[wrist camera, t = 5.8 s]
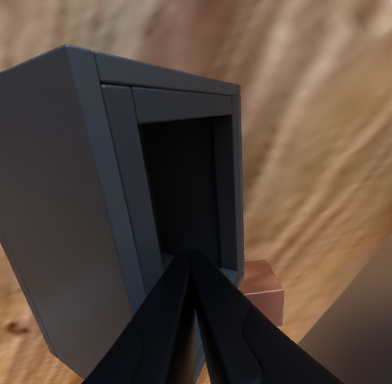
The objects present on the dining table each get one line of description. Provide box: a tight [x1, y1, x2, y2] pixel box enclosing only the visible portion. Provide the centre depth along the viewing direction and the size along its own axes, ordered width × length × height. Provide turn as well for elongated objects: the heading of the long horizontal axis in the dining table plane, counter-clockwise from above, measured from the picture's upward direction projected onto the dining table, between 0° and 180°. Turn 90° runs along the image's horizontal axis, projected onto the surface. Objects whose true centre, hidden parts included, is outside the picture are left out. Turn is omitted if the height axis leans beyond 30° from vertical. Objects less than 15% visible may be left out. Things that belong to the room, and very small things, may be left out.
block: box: [238, 260, 284, 326], centre depth 20 cm, size 4×4×4 cm
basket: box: [0, 44, 245, 384], centre depth 12 cm, size 8×13×10 cm
